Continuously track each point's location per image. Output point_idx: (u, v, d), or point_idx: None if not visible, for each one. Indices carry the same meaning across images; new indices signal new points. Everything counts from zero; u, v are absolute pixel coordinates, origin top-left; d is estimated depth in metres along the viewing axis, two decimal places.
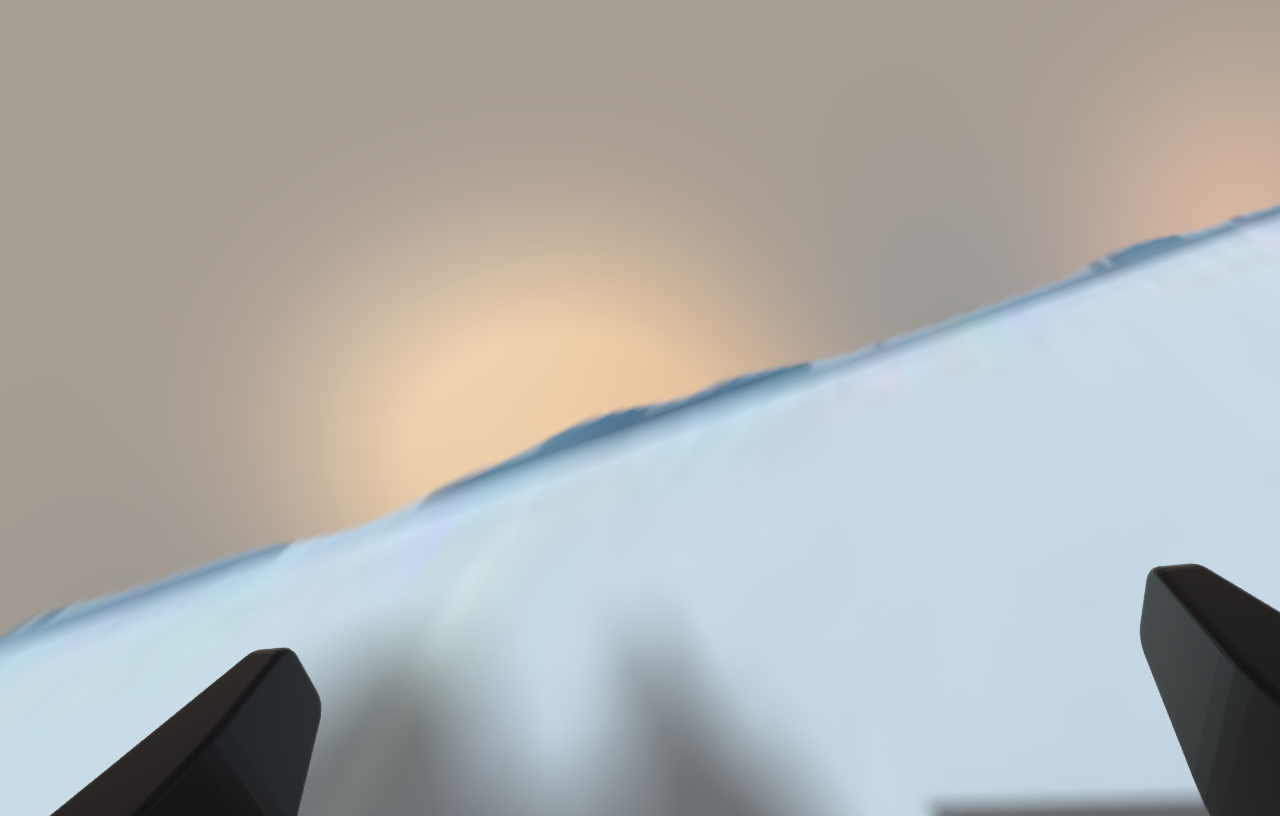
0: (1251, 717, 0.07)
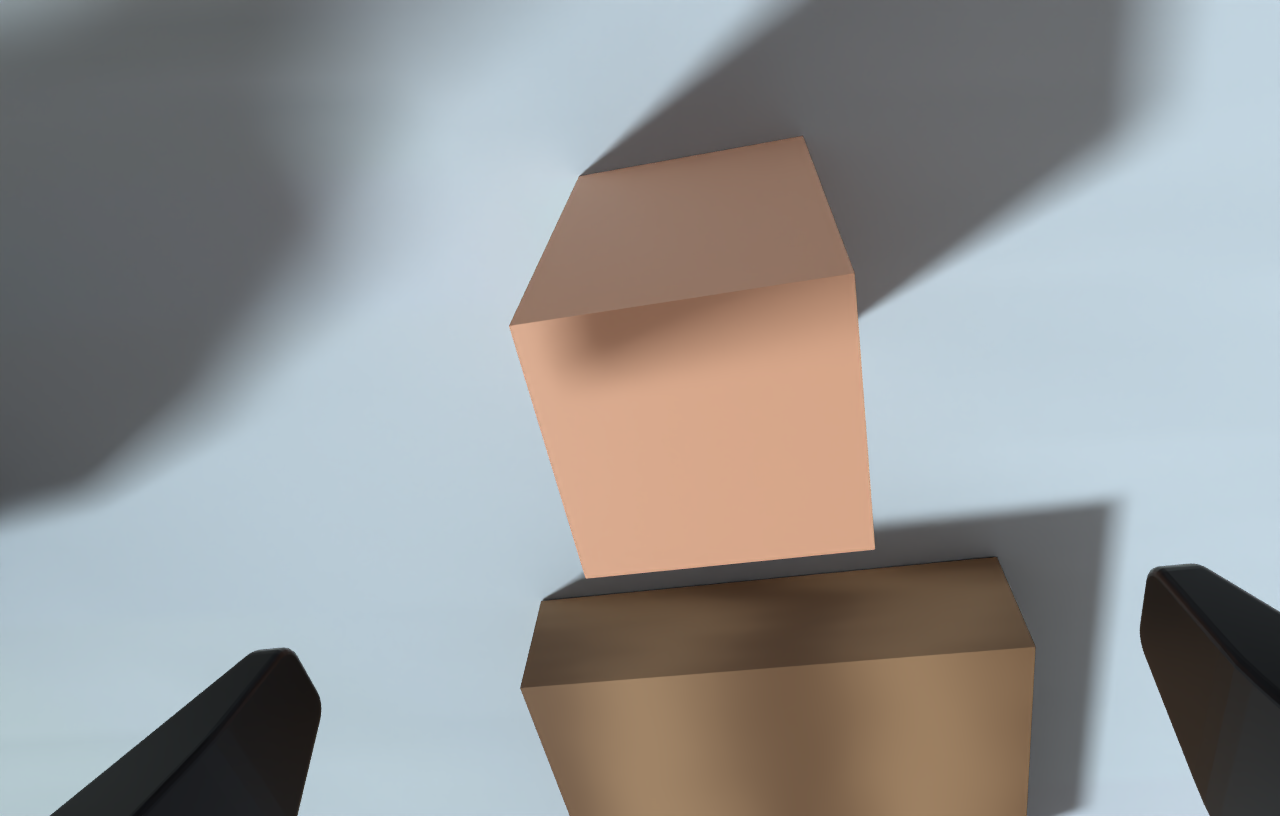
0: (1252, 717, 0.07)
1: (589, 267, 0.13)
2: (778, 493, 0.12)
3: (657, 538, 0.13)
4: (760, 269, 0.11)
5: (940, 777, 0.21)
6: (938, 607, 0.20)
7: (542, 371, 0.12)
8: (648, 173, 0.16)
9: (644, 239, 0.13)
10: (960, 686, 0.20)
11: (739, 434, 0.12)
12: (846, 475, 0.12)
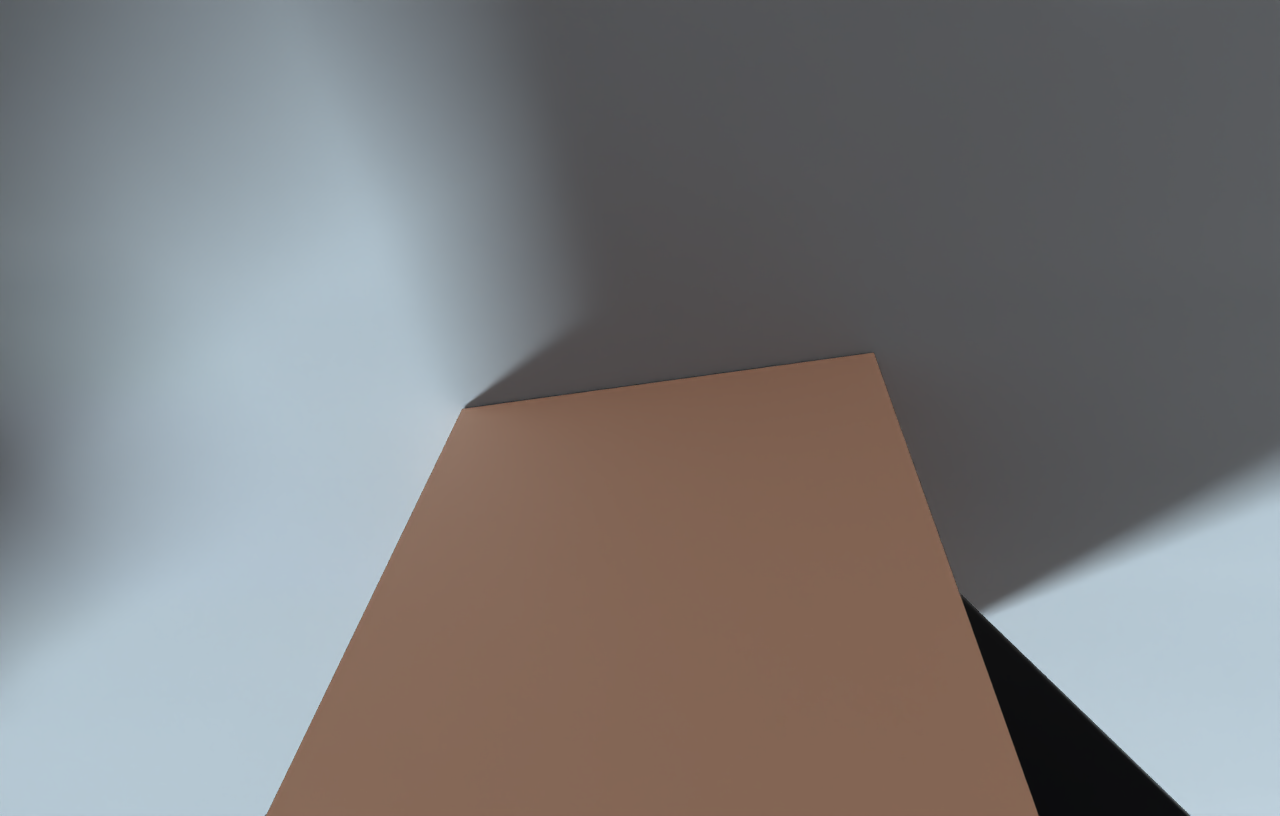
0: None
1: None
2: None
3: None
4: None
5: None
6: None
7: None
8: (582, 427, 0.09)
9: (532, 743, 0.05)
10: None
11: None
12: None
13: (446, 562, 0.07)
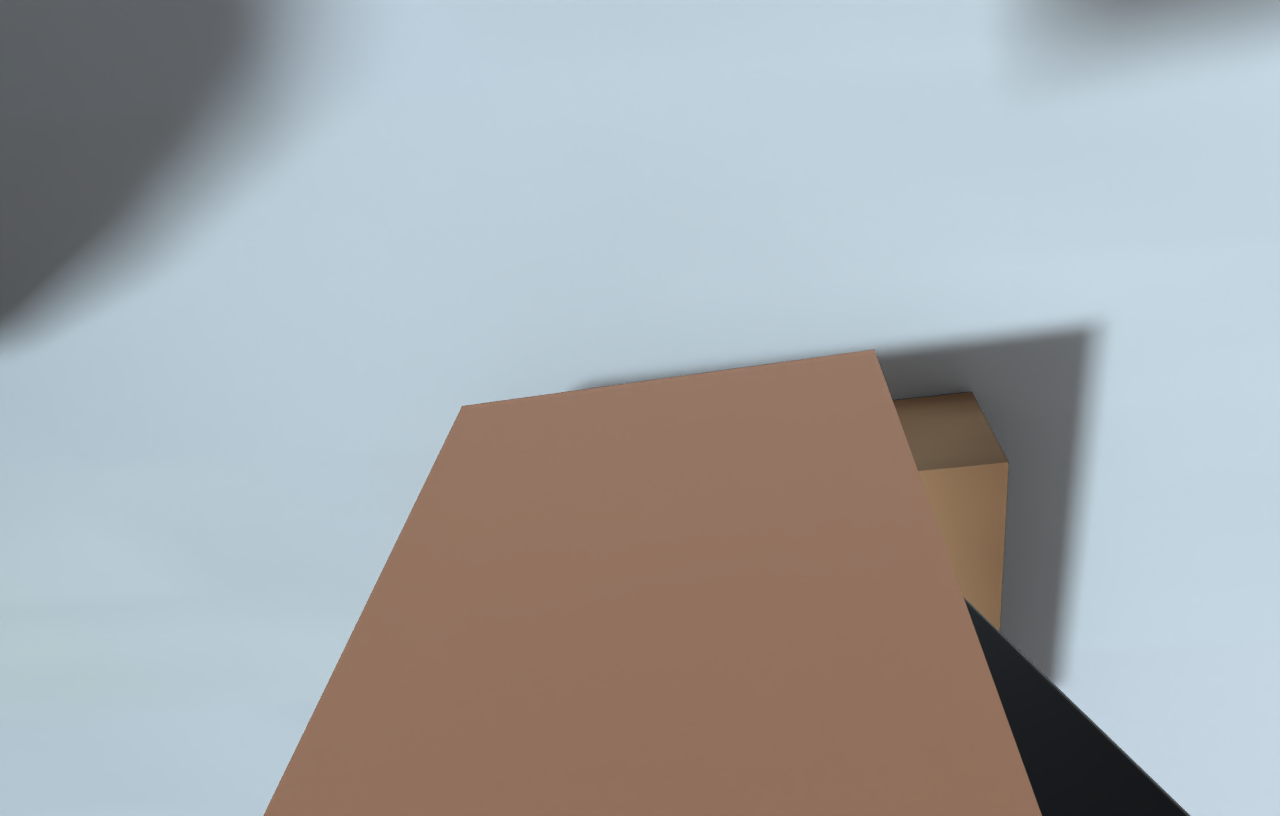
0: None
1: None
2: None
3: None
4: None
5: None
6: (909, 433, 0.20)
7: None
8: (582, 424, 0.09)
9: (534, 740, 0.05)
10: None
11: None
12: None
13: (446, 559, 0.07)
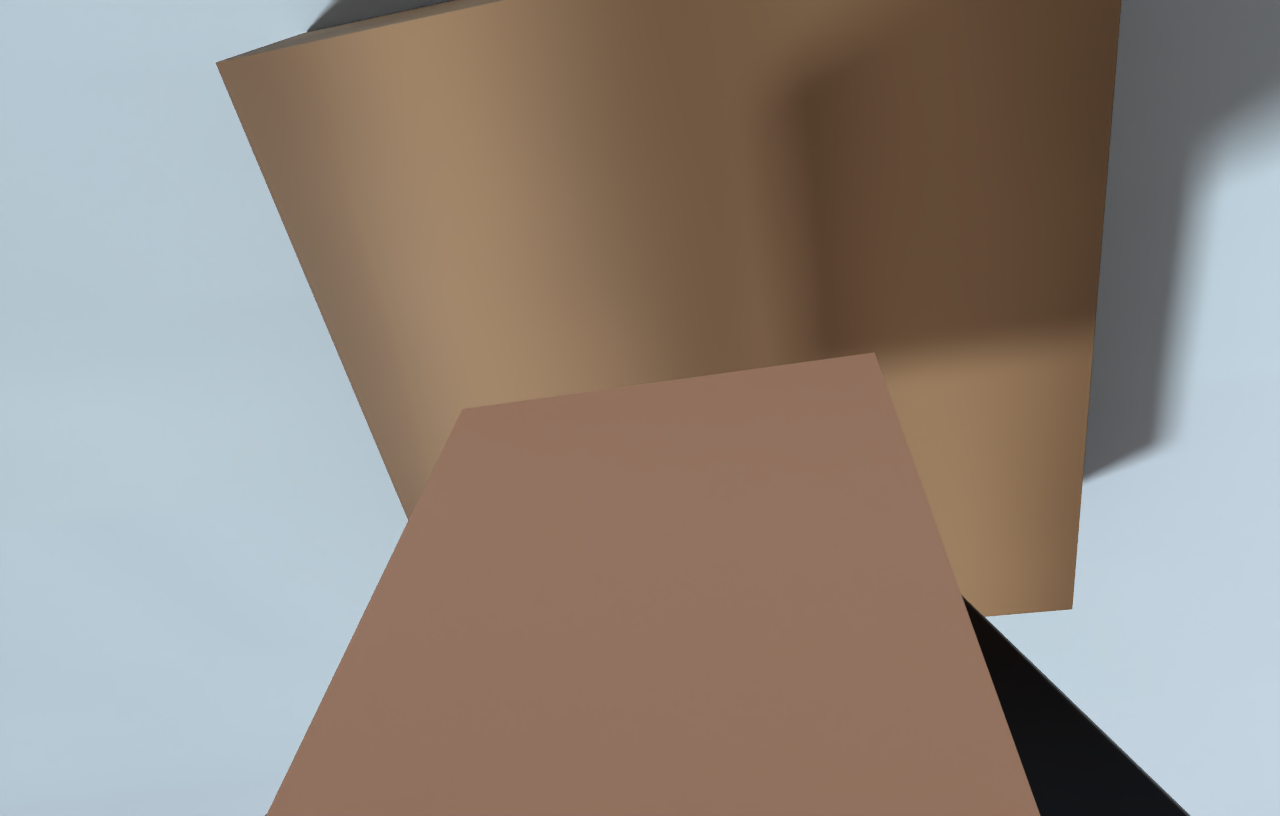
0: None
1: None
2: None
3: None
4: None
5: (948, 247, 0.12)
6: None
7: None
8: (582, 427, 0.09)
9: (532, 743, 0.05)
10: None
11: None
12: None
13: (446, 563, 0.07)
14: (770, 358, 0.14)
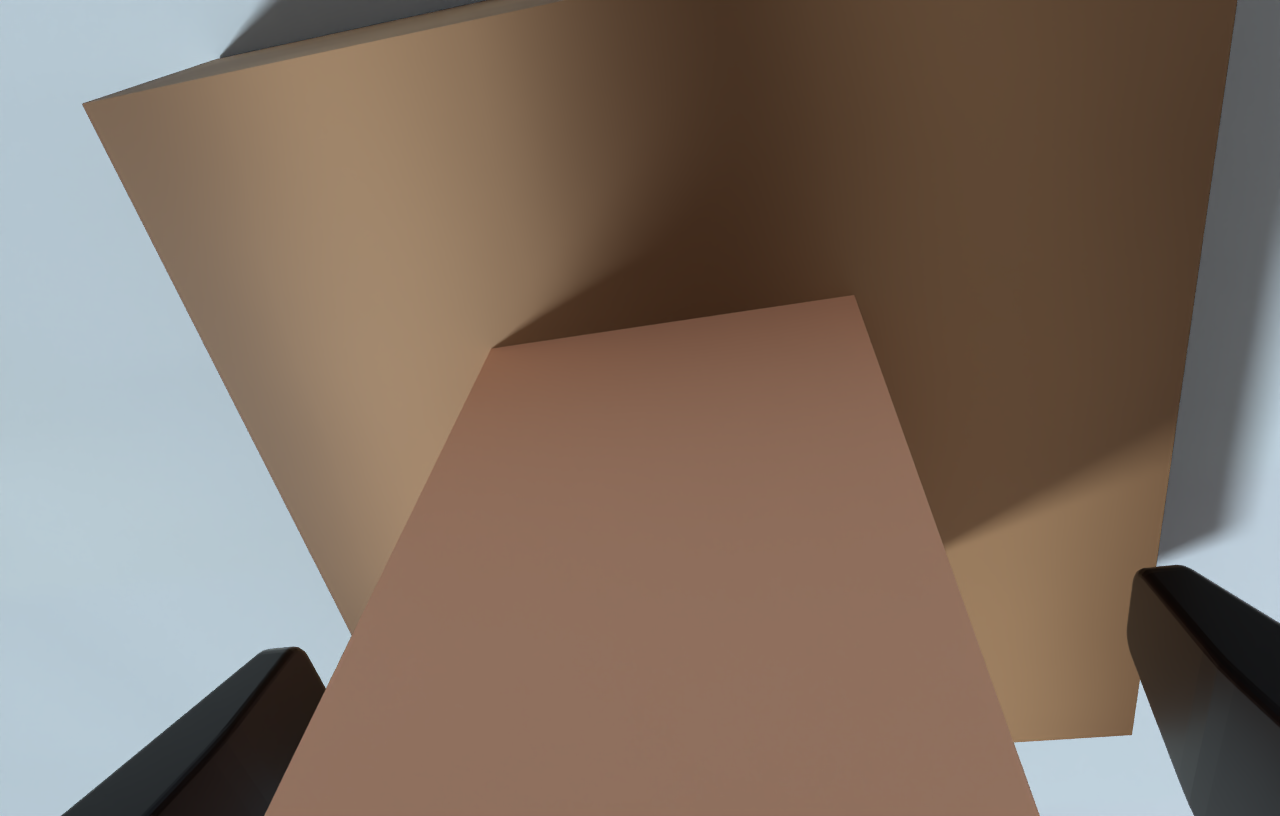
0: (1234, 718, 0.07)
1: (443, 673, 0.06)
2: None
3: None
4: (811, 792, 0.05)
5: (999, 329, 0.10)
6: None
7: None
8: (599, 359, 0.10)
9: (566, 582, 0.07)
10: (1060, 20, 0.08)
11: None
12: None
13: (485, 462, 0.08)
14: None
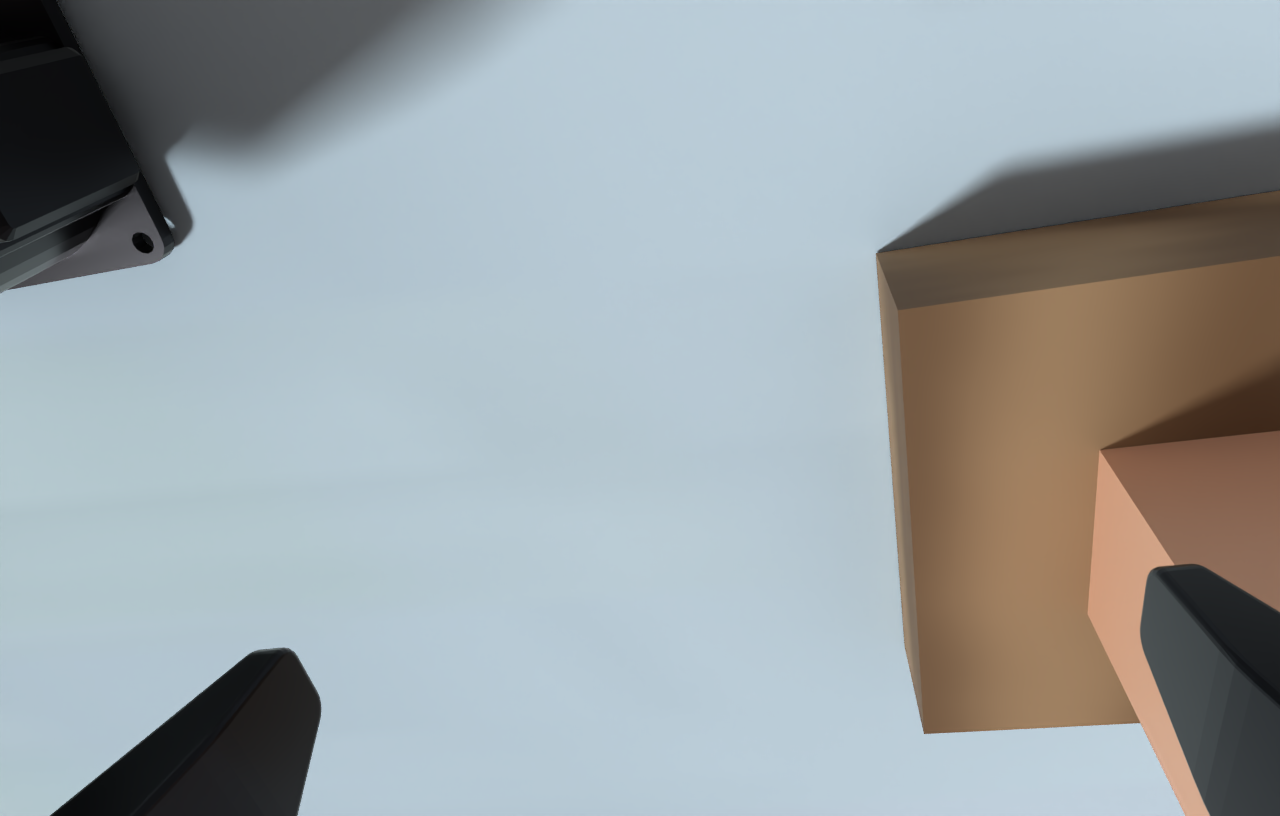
0: (1252, 717, 0.07)
1: None
2: None
3: None
4: None
5: None
6: None
7: None
8: (1198, 462, 0.16)
9: None
10: None
11: None
12: None
13: (1189, 531, 0.15)
14: None
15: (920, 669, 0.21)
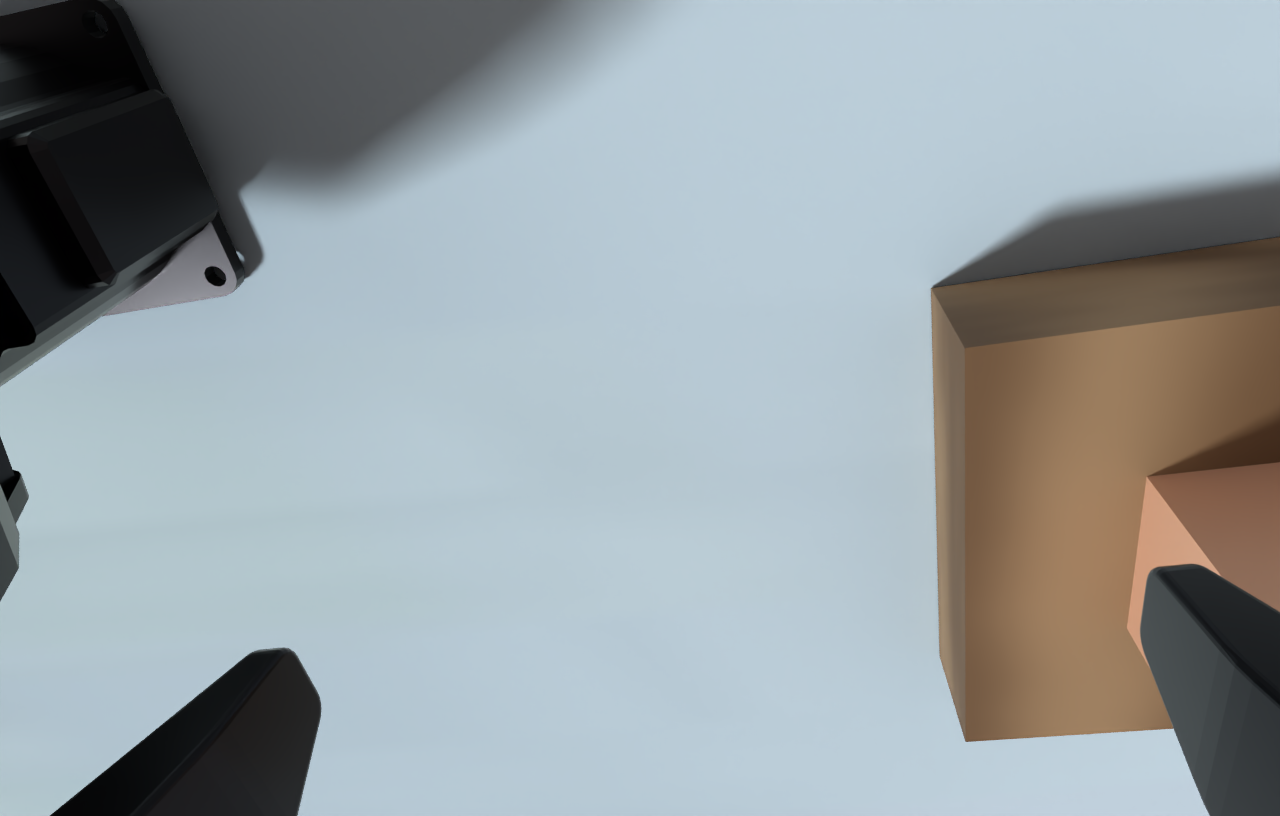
0: (1252, 717, 0.06)
1: None
2: None
3: None
4: None
5: None
6: None
7: None
8: (1241, 489, 0.17)
9: None
10: None
11: None
12: None
13: (1241, 556, 0.16)
14: None
15: (965, 681, 0.22)
